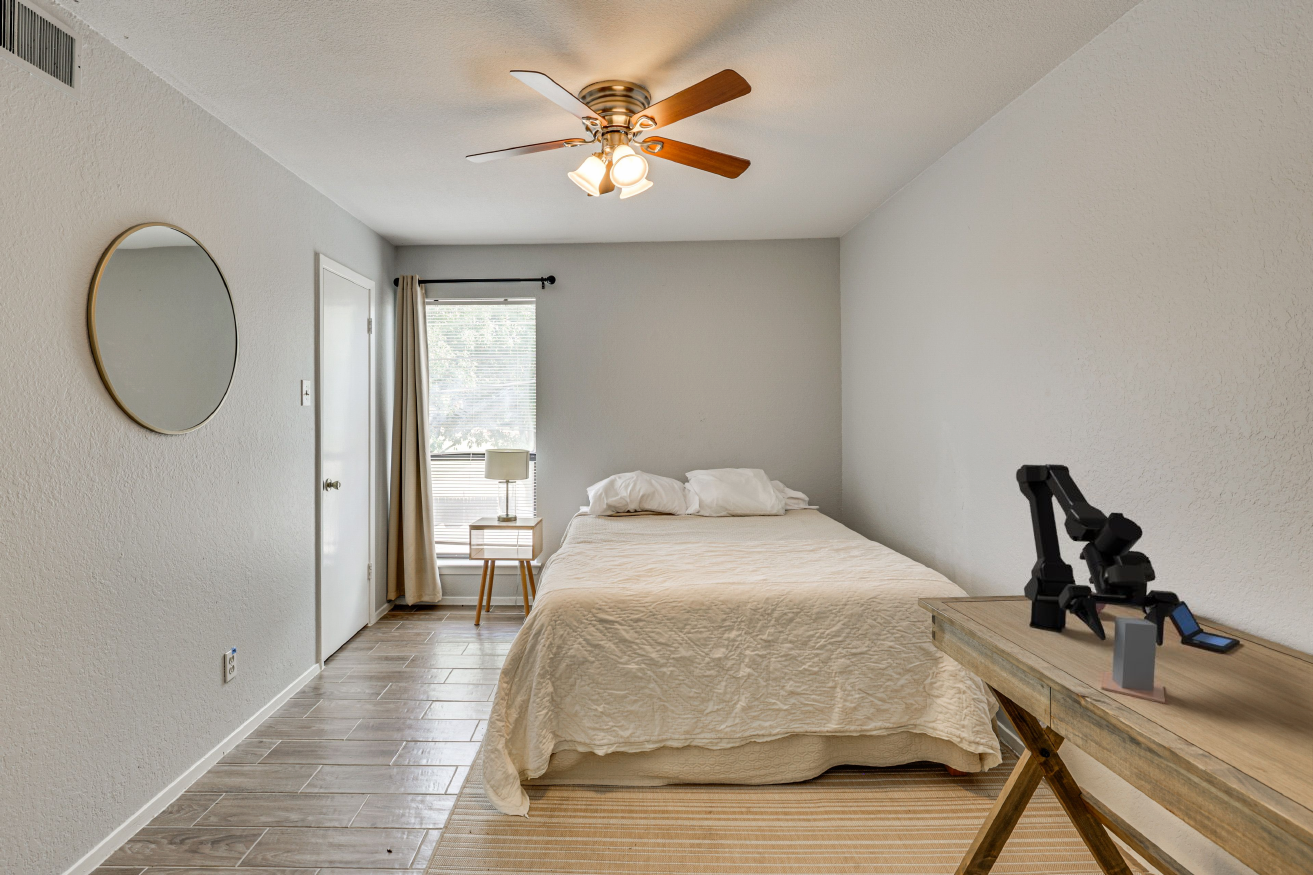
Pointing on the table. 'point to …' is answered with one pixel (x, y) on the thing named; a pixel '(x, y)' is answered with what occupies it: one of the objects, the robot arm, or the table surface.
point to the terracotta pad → (1149, 695)
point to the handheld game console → (1199, 632)
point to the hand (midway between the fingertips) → (1132, 642)
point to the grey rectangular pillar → (1134, 653)
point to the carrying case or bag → (1135, 559)
